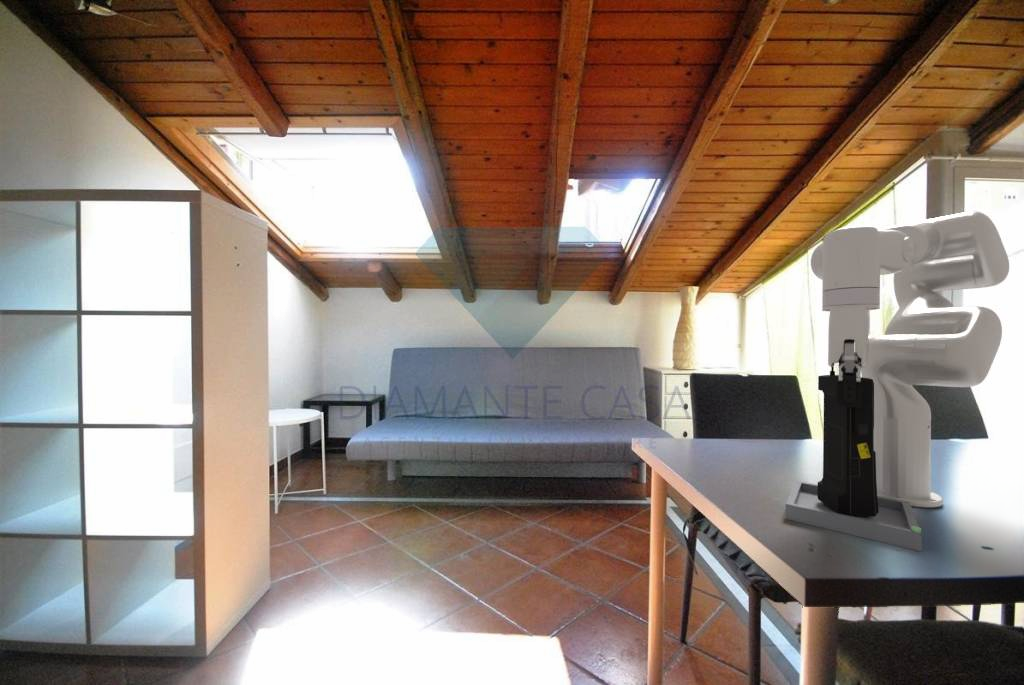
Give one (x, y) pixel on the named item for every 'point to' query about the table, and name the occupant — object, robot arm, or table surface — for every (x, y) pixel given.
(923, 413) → the robot arm
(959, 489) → the table surface
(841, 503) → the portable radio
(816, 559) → the table surface
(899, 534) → the tray
